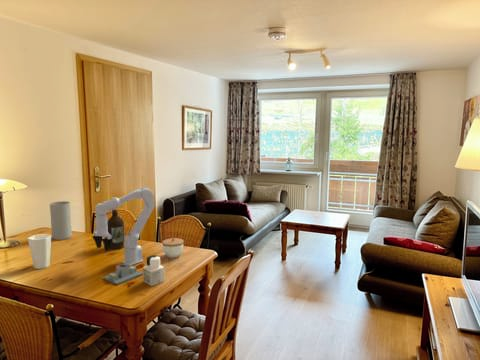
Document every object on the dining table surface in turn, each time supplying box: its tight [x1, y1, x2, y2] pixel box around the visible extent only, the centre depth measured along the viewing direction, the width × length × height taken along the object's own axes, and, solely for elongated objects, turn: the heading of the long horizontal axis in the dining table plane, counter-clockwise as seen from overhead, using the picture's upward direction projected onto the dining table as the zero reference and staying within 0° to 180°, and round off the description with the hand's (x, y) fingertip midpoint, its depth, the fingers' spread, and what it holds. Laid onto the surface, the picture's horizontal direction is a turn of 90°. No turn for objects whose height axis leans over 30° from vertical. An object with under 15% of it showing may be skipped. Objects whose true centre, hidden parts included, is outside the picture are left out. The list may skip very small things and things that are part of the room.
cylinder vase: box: [49, 200, 73, 241], centre depth 241 cm, size 12×12×25 cm
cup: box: [27, 233, 52, 270], centre depth 188 cm, size 11×10×17 cm
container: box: [142, 254, 166, 287], centre depth 170 cm, size 8×8×13 cm
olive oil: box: [107, 208, 125, 250], centre depth 220 cm, size 11×11×25 cm
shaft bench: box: [102, 265, 143, 286], centre depth 176 cm, size 15×12×4 cm
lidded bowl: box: [161, 237, 185, 259], centre depth 206 cm, size 13×13×11 cm
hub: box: [115, 263, 130, 278], centre depth 175 cm, size 5×5×5 cm
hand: (103, 249), depth 189 cm, fingers open, 7 cm apart
